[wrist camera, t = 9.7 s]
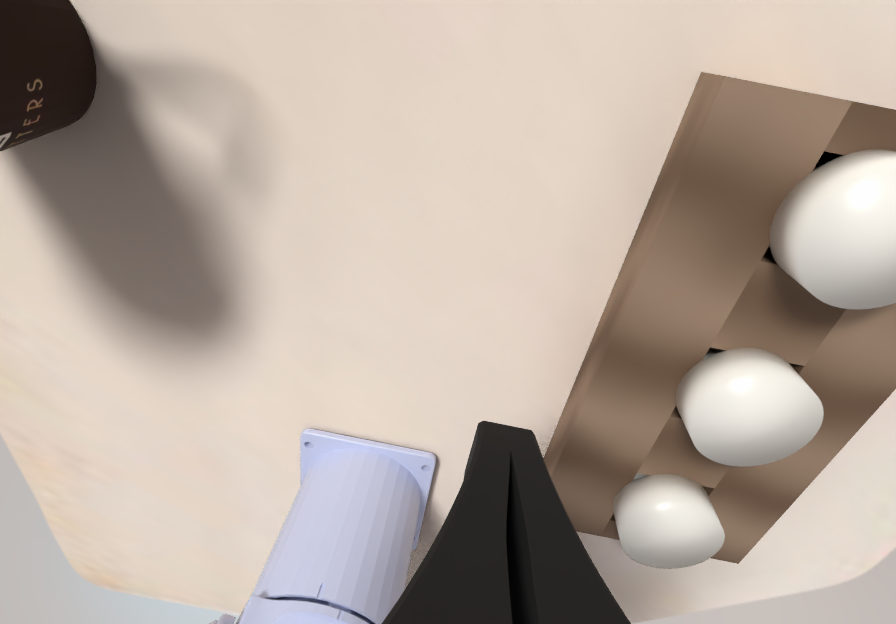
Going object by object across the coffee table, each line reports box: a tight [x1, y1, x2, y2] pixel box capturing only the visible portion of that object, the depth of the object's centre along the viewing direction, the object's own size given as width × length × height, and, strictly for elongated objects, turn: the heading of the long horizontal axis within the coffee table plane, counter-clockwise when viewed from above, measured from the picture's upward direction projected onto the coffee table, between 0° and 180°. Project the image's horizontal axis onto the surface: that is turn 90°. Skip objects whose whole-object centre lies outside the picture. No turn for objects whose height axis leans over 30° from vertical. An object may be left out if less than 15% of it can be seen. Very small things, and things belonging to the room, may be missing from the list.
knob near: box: [769, 149, 896, 310], centre depth 16 cm, size 5×5×4 cm
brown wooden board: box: [544, 72, 896, 564], centre depth 21 cm, size 23×12×2 cm, turn 170°
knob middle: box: [675, 347, 824, 467], centre depth 20 cm, size 5×5×4 cm
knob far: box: [613, 473, 725, 569], centre depth 24 cm, size 5×5×4 cm
